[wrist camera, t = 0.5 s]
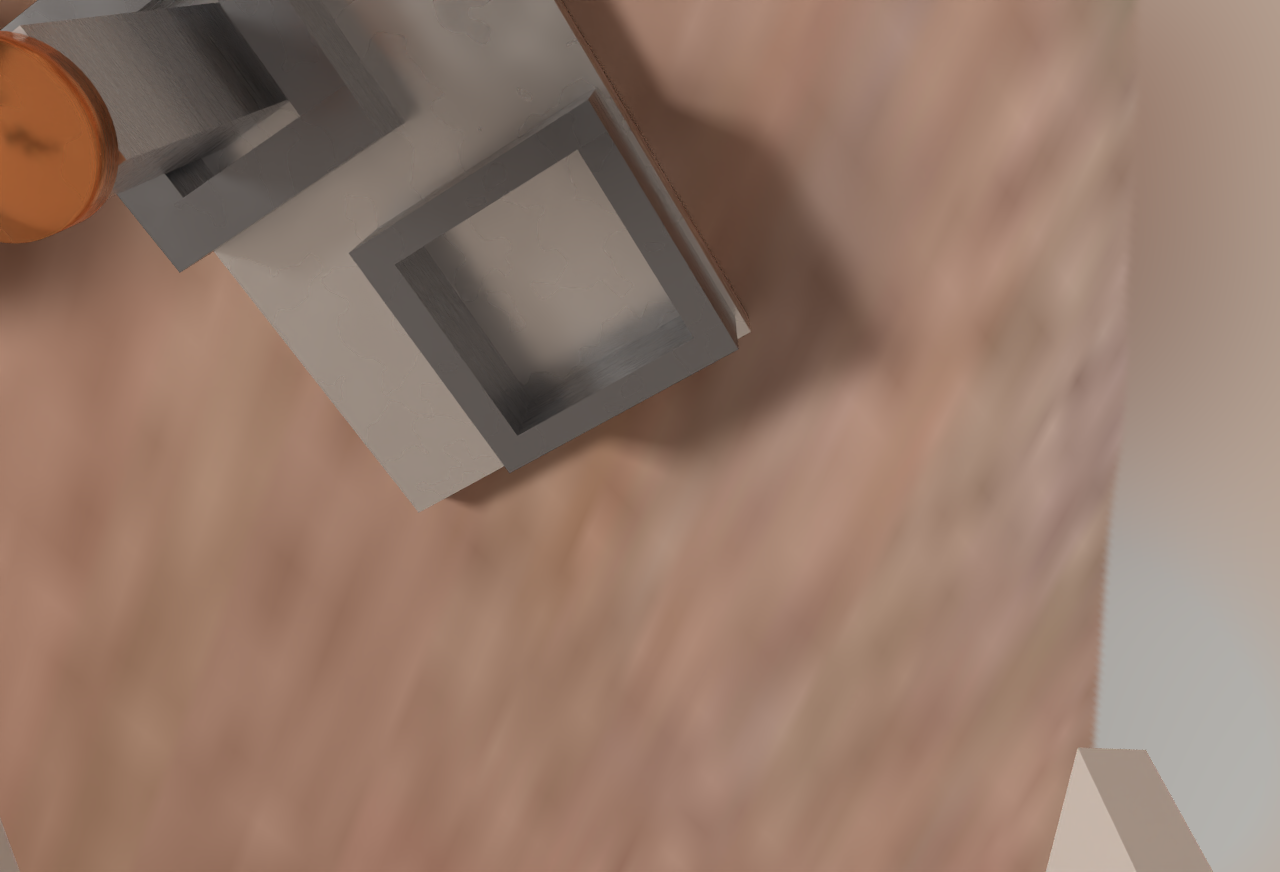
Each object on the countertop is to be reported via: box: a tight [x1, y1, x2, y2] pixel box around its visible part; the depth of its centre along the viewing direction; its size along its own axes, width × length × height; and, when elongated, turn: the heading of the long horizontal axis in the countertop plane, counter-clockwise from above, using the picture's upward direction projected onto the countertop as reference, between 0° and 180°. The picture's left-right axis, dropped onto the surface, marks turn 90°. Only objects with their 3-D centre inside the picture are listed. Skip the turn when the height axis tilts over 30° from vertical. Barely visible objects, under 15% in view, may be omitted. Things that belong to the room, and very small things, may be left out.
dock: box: [0, 0, 751, 512], centre depth 32 cm, size 20×14×4 cm
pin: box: [0, 2, 289, 243], centre depth 27 cm, size 4×4×12 cm
